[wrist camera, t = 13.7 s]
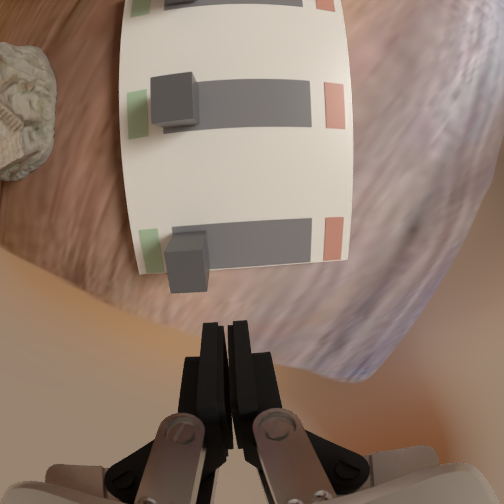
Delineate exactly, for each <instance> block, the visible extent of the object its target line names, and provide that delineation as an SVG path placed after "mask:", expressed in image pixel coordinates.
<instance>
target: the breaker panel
mask: <svg viewBox="0 0 504 504" xmlns="http://www.w3.org/2000/svg"><path fill="white" fill-rule="evenodd" d="M184 72H192V73H193V75H194V77H195V80H196V82H197V84H198V93H199V120H200V124H198V125H188V126H179V127H171V128H163V127H160V126H156V125H153V124H151V95H150V78H151V77H157V76H163V75H169V74H176V73H184ZM119 119H120V140H121V154H122V166H123V176H124V185H125V193H126V201H127V208H128V215H129V222H130V228H131V234H132V239H133V245H134V250H135V256H136V261H137V265H138V270H139V275H140V274H158V273H167V269H166V263H165V257H164V251H165V249H166V247H167V245H168V243H169V242H170V240H171V238H172V236H173V234H174V233H182V232H195V231H206V234H207V244H208V254H209V263H210V270H221V269H235V268H249V267H263V266H276V265H289V264H302V263H314V262H326V261H338V260H348V250H349V239H350V226H351V210H352V188H353V115H352V94H351V79H350V67H349V57H348V48H347V40H346V32H345V25H344V18H343V12H342V6H341V0H197V1H188V2H181V3H174V4H168V5H166V3H165V0H125V6H124V13H123V22H122V33H121V46H120V65H119Z"/></svg>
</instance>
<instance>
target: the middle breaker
mask: <svg viewBox="0 0 504 504" xmlns="http://www.w3.org/2000/svg"><path fill="white" fill-rule="evenodd" d="M150 95H151V124H153V125H156V126H160V127H163V128H171V127H179V126H188V125H198V124H200V120H199V93H198V84H197V82H196V80H195V77H194V75H193V73H192V72H184V73H176V74H169V75H163V76H157V77H151V78H150Z"/></svg>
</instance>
